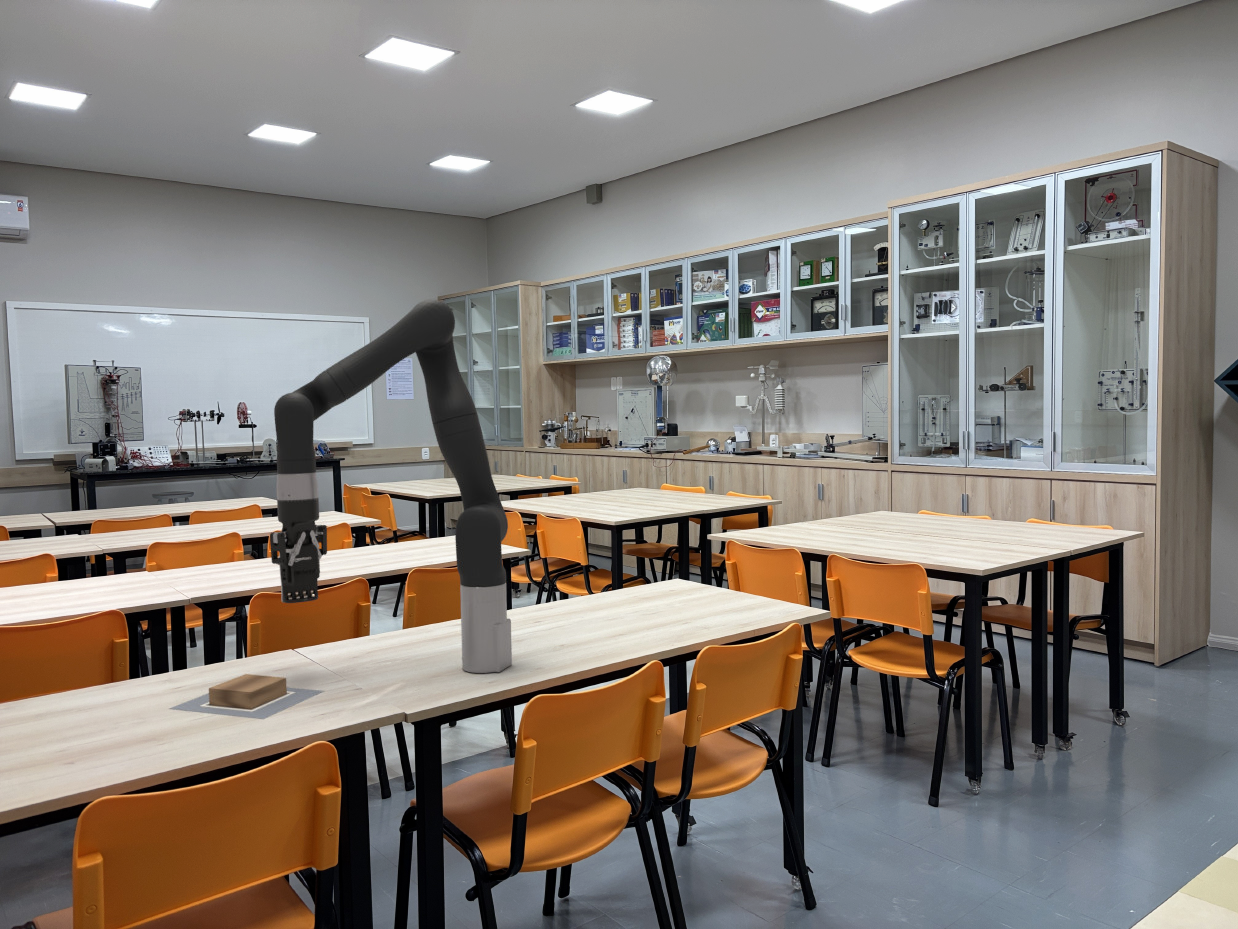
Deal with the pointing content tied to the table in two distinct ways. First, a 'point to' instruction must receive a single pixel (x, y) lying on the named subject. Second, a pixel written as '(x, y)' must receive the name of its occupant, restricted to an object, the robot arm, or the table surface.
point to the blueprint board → (259, 712)
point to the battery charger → (303, 576)
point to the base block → (247, 691)
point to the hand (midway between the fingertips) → (301, 581)
